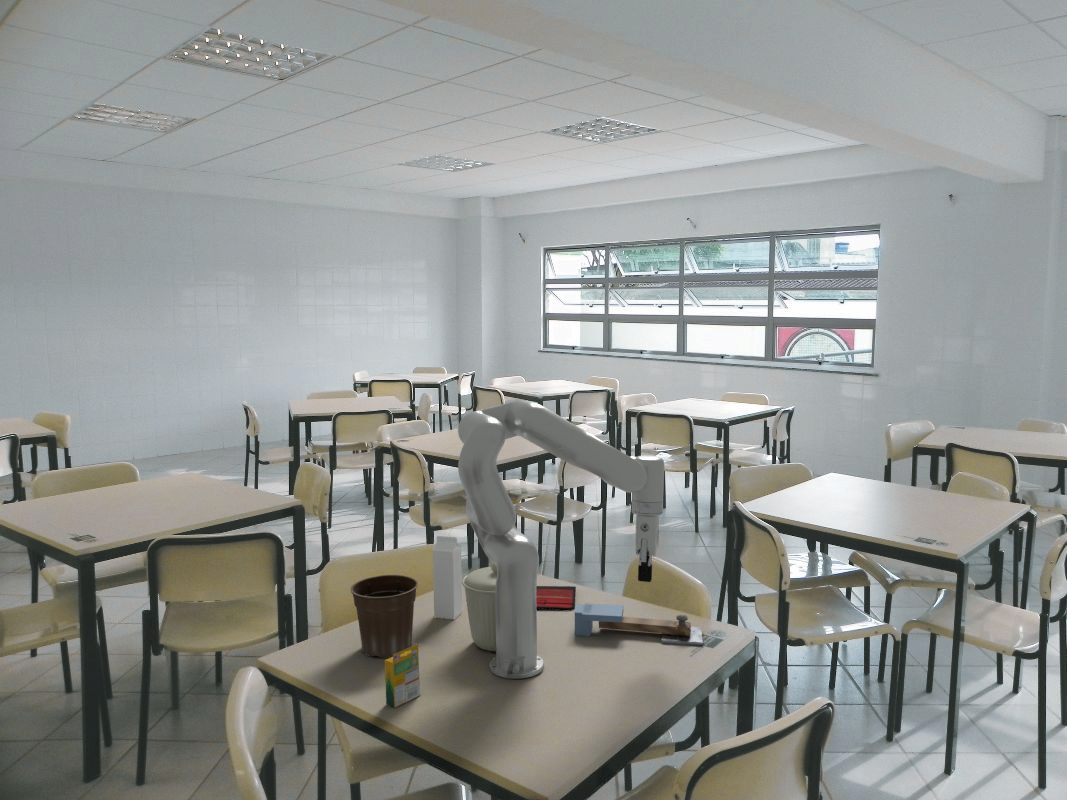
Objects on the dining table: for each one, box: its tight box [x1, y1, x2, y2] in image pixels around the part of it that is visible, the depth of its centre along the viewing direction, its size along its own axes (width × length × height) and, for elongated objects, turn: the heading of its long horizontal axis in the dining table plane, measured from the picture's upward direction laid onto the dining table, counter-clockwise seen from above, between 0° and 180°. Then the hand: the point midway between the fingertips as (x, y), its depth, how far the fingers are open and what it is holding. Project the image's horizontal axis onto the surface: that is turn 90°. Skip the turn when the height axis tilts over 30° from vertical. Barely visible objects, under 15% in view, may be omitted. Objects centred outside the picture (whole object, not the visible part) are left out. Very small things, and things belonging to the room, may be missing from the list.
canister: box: [462, 562, 497, 652], centre depth 197 cm, size 18×18×21 cm
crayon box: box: [384, 643, 421, 709], centre depth 169 cm, size 7×3×12 cm, turn 141°
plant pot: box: [350, 574, 419, 659], centre depth 195 cm, size 16×16×16 cm
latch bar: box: [598, 614, 692, 636], centre depth 203 cm, size 23×4×4 cm, turn 76°
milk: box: [432, 535, 463, 621], centre depth 217 cm, size 6×6×22 cm
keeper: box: [574, 602, 624, 637], centre depth 205 cm, size 8×12×6 cm, turn 80°
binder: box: [536, 585, 577, 611], centre depth 229 cm, size 16×2×21 cm
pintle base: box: [661, 626, 704, 646], centre depth 201 cm, size 10×10×1 cm
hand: (644, 580), depth 194 cm, fingers closed
